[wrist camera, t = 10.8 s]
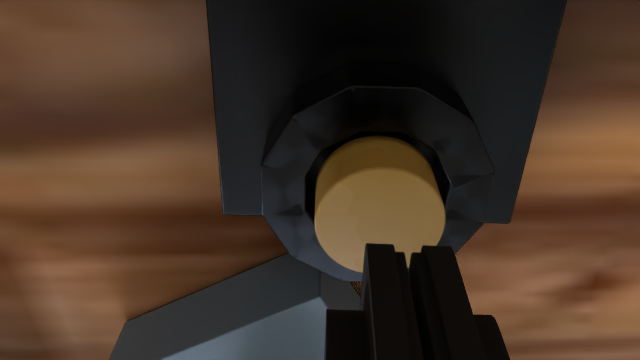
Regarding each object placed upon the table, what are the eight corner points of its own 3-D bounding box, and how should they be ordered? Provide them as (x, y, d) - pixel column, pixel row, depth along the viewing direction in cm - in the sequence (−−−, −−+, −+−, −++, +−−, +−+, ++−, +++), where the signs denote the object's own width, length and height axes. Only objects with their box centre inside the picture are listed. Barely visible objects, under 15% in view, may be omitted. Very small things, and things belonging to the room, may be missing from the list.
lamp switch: (317, 132, 14) (315, 165, 12) (441, 135, 14) (455, 169, 12) (314, 232, 15) (313, 273, 14) (425, 236, 15) (436, 277, 14)
